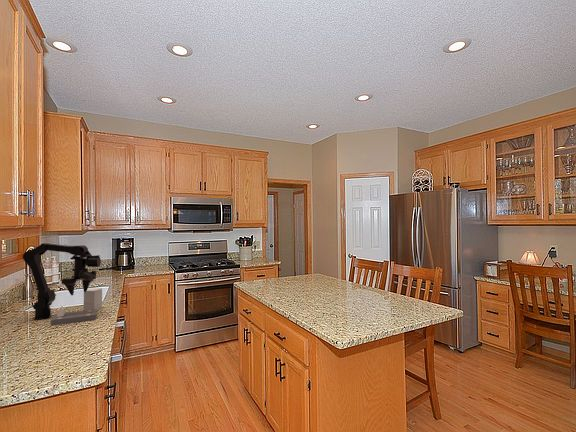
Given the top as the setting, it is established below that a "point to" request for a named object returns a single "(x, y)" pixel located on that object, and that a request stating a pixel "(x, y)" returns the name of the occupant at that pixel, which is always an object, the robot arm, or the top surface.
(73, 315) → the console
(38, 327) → the top surface
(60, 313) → the fader
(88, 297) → the supplement box
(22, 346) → the top surface
